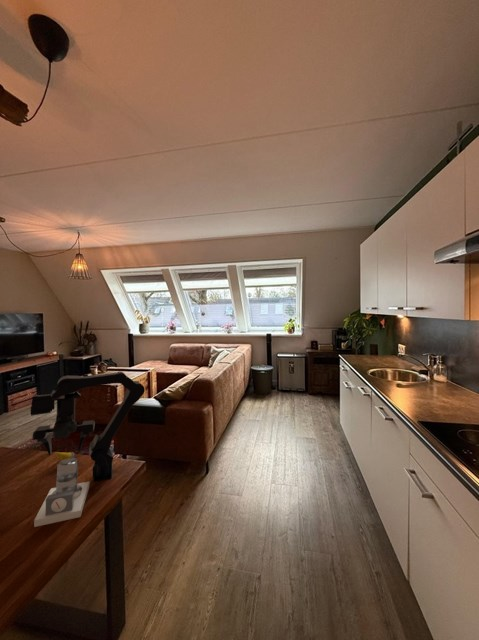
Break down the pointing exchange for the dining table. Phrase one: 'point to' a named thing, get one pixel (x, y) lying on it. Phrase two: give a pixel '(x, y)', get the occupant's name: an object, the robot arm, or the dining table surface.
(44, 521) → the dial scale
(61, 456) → the yellow spiral cone
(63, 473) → the silver flared knob
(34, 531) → the dining table surface
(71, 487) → the silver round piece
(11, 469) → the dining table surface
